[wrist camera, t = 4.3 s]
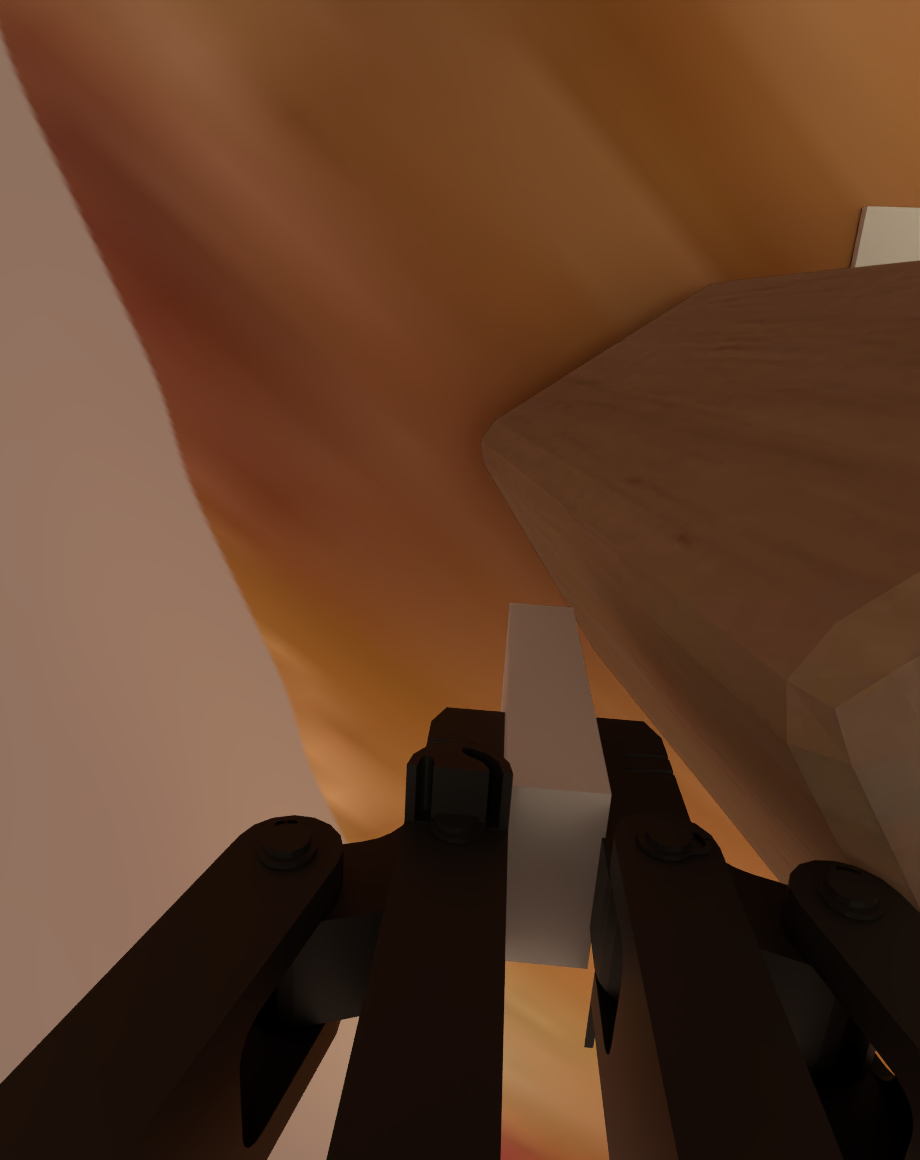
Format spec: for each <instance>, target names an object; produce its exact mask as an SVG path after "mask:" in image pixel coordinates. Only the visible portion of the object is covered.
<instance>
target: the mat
mask: <svg viewBox="0 0 920 1160" xmlns="http://www.w3.org/2000/svg"><path fill="white" fill-rule="evenodd" d="M918 260H920V208H907V207H878V206H866V207H863V208H862V213H861V218H860V223H859V228H858V233H857V238H856V243H855V248H854V252H853V257H852V262H851V267H850V268H854V267H863V266H872V265H881V264H891V263H900V262H909V261H918Z"/></svg>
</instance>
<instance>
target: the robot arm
mask: <svg viewBox="0 0 920 1160" xmlns="http://www.w3.org/2000/svg"><path fill="white" fill-rule="evenodd" d="M591 943H592V952H593V960H594V968H595V974H594V981H593V988H592V995H591V1002H590V1009H589V1016H588V1023H587V1030H586V1038H585V1046H584V1047H588V1048H593V1045H594V1039H595V1041H596V1049H597V1058H598V1066H599V1074H600V1083H601V1091H602V1100H603V1108H604V1116H605V1125H606V1133H607V1142H608V1150H609V1159H610V1160H920V912H919V911H918V910H917V909H915V908H914V907H913V906H912V905H911V904H910V903H909V902H908V901H907V900H906V899H905V898H904V897H903V896H902V895H901V894H900V893H899V892H898V891H897V890H895V889H894V888H893V887H892V886H890V885H889V884H888V883H886V882H885V881H884V880H883V879H881V878H879V877H877V876H875V875H873V874H871V873H869V872H867V871H865V870H863V869H861V868H859V867H856V866H853V865H850V864H849V865H848V864H846V863H841V862H838V861H826V860H813V861H809V862H805V863H802V864H799V865H798V866H797V867H796V868H795V869H794V870H793V871H792V872H791V873H790V876H789V880H788V885H786V884H783V883H779V882H776V881H773V880H769V879H766V878H763V877H760V876H756V875H753V874H750V873H748V872H745V871H742V870H740V869H737V868H735V867H733V866H731V865H729V864H727V863H726V862H725V859H724V857H723V854H722V852H721V849H720V847H719V846H718V844H717V843H716V842H715V840H714V839H713V837H712V836H711V835H710V834H709V833H707V832H706V831H705V830H703V829H702V828H701V827H699V826H698V825H697V824H695V823H692V822H691V821H690V818H689V815H688V812H687V810H686V807H685V804H684V801H683V798H682V795H681V792H680V790H679V787H678V784H677V781H676V778H675V775H673V770H672V767H671V764H670V761H669V760H668V755H667V753H666V750H665V747H664V744H663V741H662V738H661V737H660V736H658V735H657V734H656V733H655V732H654V731H653V730H652V729H651V728H650V727H649V726H648V725H647V724H646V723H645V722H643V721H631V720H619V719H607V718H596V716H595V711H594V706H593V702H592V697H591V692H590V687H589V682H588V677H587V672H586V667H585V662H584V658H583V653H582V648H581V643H580V638H579V633H578V628H577V623H576V618H575V614H574V609H573V607H560V606H547V605H534V604H521V603H510V604H509V616H508V628H507V640H506V653H505V665H504V677H503V689H502V701H501V712H497V711H484V710H472V709H460V708H448V707H447V708H445V709H444V710H443V711H442V712H441V713H440V714H439V715H438V716H437V717H436V718H435V719H433V720H432V721H431V726H430V731H429V736H428V742H427V745H426V747H425V748H423V749H421V750H420V751H418V752H416V753H414V754H413V756H412V757H411V759H410V760H409V762H408V764H407V775H406V800H405V821H404V824H403V825H402V826H401V827H400V828H398V829H397V830H395V831H394V832H392V833H390V834H387V835H385V836H382V837H380V838H377V839H372V840H368V841H363V842H356V843H349V844H342V840H341V835H340V834H339V833H338V832H337V831H336V830H335V829H334V828H333V827H332V826H331V825H330V824H327V823H325V822H323V821H320V820H318V819H316V818H312V817H304V816H296V815H293V816H284V817H275V818H271V819H269V820H266V821H263V822H261V823H258V824H255V825H253V826H252V827H251V828H249V829H248V830H246V831H245V832H244V833H242V834H241V835H240V836H239V837H238V838H237V839H236V840H235V841H234V842H233V843H232V844H231V845H230V846H229V847H228V848H227V849H226V850H225V851H224V852H223V853H222V854H221V855H220V856H219V857H218V858H217V859H216V860H215V862H214V863H213V864H212V865H211V866H210V867H209V868H208V869H207V870H206V871H205V872H204V873H203V874H202V875H201V876H200V877H199V878H198V879H197V880H196V881H195V882H194V883H193V884H192V886H190V888H189V889H188V890H187V891H186V892H185V893H184V894H183V895H182V896H181V897H180V898H179V899H178V900H177V901H176V902H175V903H174V904H173V905H172V906H171V907H170V908H169V909H168V910H167V911H166V912H165V914H164V915H163V916H162V917H161V918H160V919H159V920H158V921H157V922H156V923H155V924H154V925H153V926H152V927H151V928H150V929H149V930H148V931H147V932H146V933H145V934H144V935H143V936H142V937H141V938H140V939H139V940H138V941H137V943H136V944H135V945H134V946H133V947H132V948H131V949H130V950H129V951H128V952H127V953H126V954H125V955H124V956H123V957H122V958H121V959H120V960H119V961H118V962H117V963H116V965H114V966H113V967H112V968H111V970H110V971H109V972H108V973H107V974H106V975H105V976H104V977H103V978H102V979H101V980H100V981H99V982H98V983H97V984H96V985H95V986H94V987H93V988H92V989H91V990H90V991H89V993H87V994H86V996H85V997H84V998H83V999H82V1000H81V1001H80V1002H79V1003H78V1004H77V1005H76V1006H75V1007H74V1008H73V1009H72V1010H71V1011H70V1012H69V1013H68V1014H67V1015H66V1016H65V1017H64V1018H63V1020H61V1021H60V1023H59V1024H58V1025H57V1026H56V1027H55V1028H54V1029H53V1030H52V1031H51V1032H50V1033H49V1034H48V1035H47V1036H46V1037H45V1038H44V1039H43V1040H42V1041H41V1042H40V1043H39V1044H38V1045H37V1046H36V1048H35V1049H34V1050H33V1051H32V1052H31V1053H30V1054H29V1055H28V1056H27V1057H26V1058H25V1059H24V1060H23V1061H22V1062H21V1063H20V1064H19V1065H18V1066H17V1067H16V1068H15V1069H14V1070H13V1071H12V1072H11V1074H10V1075H9V1076H8V1077H7V1078H6V1079H5V1080H4V1081H3V1082H2V1083H1V1084H0V1160H267V1158H268V1157H269V1155H270V1153H271V1151H272V1149H273V1148H274V1146H275V1144H276V1142H277V1140H278V1138H279V1137H280V1135H281V1133H282V1131H283V1130H284V1128H285V1126H286V1124H287V1122H288V1120H289V1119H290V1117H291V1115H292V1113H293V1111H294V1109H295V1108H296V1106H297V1104H298V1102H299V1101H300V1099H301V1097H302V1095H303V1093H304V1092H305V1090H306V1088H307V1086H308V1084H309V1082H310V1080H311V1079H312V1077H313V1075H314V1073H315V1072H316V1069H317V1068H318V1066H319V1064H320V1063H321V1061H322V1059H323V1057H324V1055H325V1054H326V1052H327V1050H328V1048H329V1046H330V1044H331V1043H332V1041H333V1039H334V1037H335V1035H336V1033H337V1030H338V1027H339V1024H340V1021H341V1020H342V1019H347V1018H352V1017H357V1016H359V1021H358V1025H357V1030H356V1034H355V1038H354V1042H353V1047H352V1051H351V1055H350V1060H349V1064H348V1069H347V1073H346V1077H345V1082H344V1086H343V1090H342V1094H341V1099H340V1103H339V1107H338V1112H337V1117H336V1120H335V1125H334V1129H333V1133H332V1138H331V1142H330V1147H329V1151H328V1155H327V1159H326V1160H500V1155H501V1113H502V1071H503V1029H504V987H505V961H514V962H525V963H533V964H543V965H554V966H564V967H574V968H585V969H587V967H588V960H589V953H590V946H591ZM875 1051H877V1052H878V1053H879V1055H880V1056H881V1057H882V1059H883V1060H884V1061H885V1063H886V1064H887V1065H888V1066H889V1068H890V1069H891V1070H892V1072H893V1073H894V1074H895V1075H893V1074H892V1073H891V1072H890V1071H889V1070H888V1069H887V1068H886V1067H885V1065H884V1064H883V1063H882V1062H881V1060H880V1059H879V1058H878V1056H877V1055H876V1054H875Z"/></svg>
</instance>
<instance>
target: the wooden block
mask: <svg viewBox="0 0 920 1160" xmlns="http://www.w3.org/2000/svg"><path fill="white" fill-rule="evenodd" d="M481 447H482V454H483V462H484V465H485V466H486V468H487V470H488V471H489V473H490V475H491V477H492V478H493V480H494V482H495V483H496V485H497V487H498V488H499V490H500V492H501V493H502V495H503V497H504V498H505V500H506V502H507V504H508V505H509V507H510V509H511V510H512V512H513V514H514V515H515V517H516V519H517V520H518V522H519V524H520V525H521V527H522V529H523V531H524V532H525V534H526V536H527V537H528V539H529V541H530V542H531V544H532V546H533V547H534V549H535V551H536V552H537V554H538V556H539V558H540V559H541V561H542V563H543V564H544V566H545V568H546V569H547V571H548V573H549V574H550V576H551V578H552V579H553V581H554V583H555V585H556V586H557V588H558V590H559V591H560V593H561V595H562V596H563V598H564V600H565V601H566V603H567V605H568V606H569V607H573V609H574V614H575V618H576V620H577V622H578V623H579V625H580V627H581V628H582V630H583V632H584V633H585V635H586V637H587V639H588V640H589V642H590V644H591V645H592V647H593V649H594V650H595V652H596V653H597V654H598V655H599V657H600V658H601V659H602V660H603V662H604V663H605V664H606V665H607V667H608V668H609V669H610V670H611V672H612V673H613V674H614V675H615V677H616V678H617V679H618V680H619V682H620V683H621V684H622V685H623V687H624V688H625V689H626V690H627V692H628V693H629V694H630V695H631V697H632V698H633V699H634V700H635V702H636V703H637V704H638V705H639V707H640V708H641V709H642V710H643V712H644V713H645V714H646V715H647V717H648V718H649V719H650V720H651V722H652V723H653V724H654V725H655V726H656V728H657V729H658V730H659V731H660V733H661V734H662V735H663V736H664V738H665V739H666V740H667V741H668V743H669V744H670V745H671V746H672V748H673V749H674V750H675V751H676V753H677V754H678V755H679V756H680V758H681V759H682V760H683V761H684V763H685V764H686V765H687V766H688V768H689V769H690V770H691V771H692V773H693V774H694V775H695V776H696V778H697V779H698V780H699V781H700V783H701V784H702V785H703V786H704V788H705V789H706V790H707V791H708V793H709V794H710V795H711V796H712V798H713V799H714V800H715V801H716V803H717V804H718V805H719V806H720V808H721V809H722V810H723V811H724V813H725V814H726V815H727V816H728V818H729V819H730V820H731V821H732V823H733V824H734V825H735V826H736V828H737V829H738V830H739V831H740V833H741V834H742V835H743V836H744V838H745V839H746V840H747V841H748V843H749V844H750V845H751V846H752V848H753V849H754V850H755V851H756V852H757V854H758V855H759V856H760V857H761V859H762V860H763V861H764V862H765V864H766V865H767V866H768V867H769V869H770V870H771V871H772V872H773V874H774V875H775V876H776V877H777V879H778V880H779V881H780V882H781V883H783V884H786V885H788V880H789V876H790V873H791V872H792V871H793V870H794V869H795V868H796V867H797V866H798V865H799V864H802V863H805V862H809V861H813V860H826V861H838V862H841V863H846V864H848V865H849V864H850V865H853V866H856V867H859V868H861V869H863V870H865V871H867V872H869V873H871V874H873V875H875V876H877V877H879V878H881V879H883V880H884V881H885V882H886V883H888V884H889V885H890V886H892V887H893V888H894V889H895V890H897V891H898V892H899V893H900V894H901V895H902V896H903V897H904V898H905V899H906V900H907V901H908V902H909V903H910V904H911V905H912V906H913V907H914V908H915V909H917V910H918V911H919V912H920V260H918V261H909V262H900V263H891V264H881V265H872V266H863V267H854V268H845V269H835V270H826V271H817V272H808V273H798V274H789V275H780V276H771V277H762V278H752V279H743V280H734V281H727V282H721V283H715V284H709V285H708V286H706V287H705V288H703V289H701V290H700V291H698V292H697V293H695V294H693V295H692V296H690V297H689V298H687V299H686V300H684V301H682V302H681V303H679V304H678V305H676V306H675V307H673V308H671V309H670V310H668V311H667V312H665V313H663V314H662V315H660V316H659V317H657V318H656V319H654V320H652V321H651V322H649V323H648V324H646V325H645V326H643V327H641V328H640V329H638V330H637V331H635V332H633V333H632V334H630V335H629V336H627V337H626V338H624V339H622V340H621V341H619V342H618V343H616V344H615V345H613V346H611V347H610V348H608V349H607V350H605V351H603V352H602V353H600V354H599V355H597V356H596V357H594V358H592V359H591V360H589V361H588V362H586V363H585V364H583V365H581V366H580V367H578V368H577V369H575V370H573V371H572V372H570V373H569V374H567V375H566V376H564V377H562V378H561V379H559V380H558V381H556V382H554V383H553V384H551V385H550V386H548V387H547V388H545V389H543V390H542V391H540V392H539V393H537V394H536V395H534V396H532V397H531V398H529V399H528V400H526V401H524V402H523V403H521V404H520V405H518V406H517V407H515V408H513V409H512V410H510V411H509V412H507V413H506V414H504V415H502V416H501V417H499V418H498V419H496V420H495V421H494V422H493V423H492V425H491V426H490V428H489V429H488V430H487V432H486V433H485V435H484V436H483V437H482V439H481Z"/></svg>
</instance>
